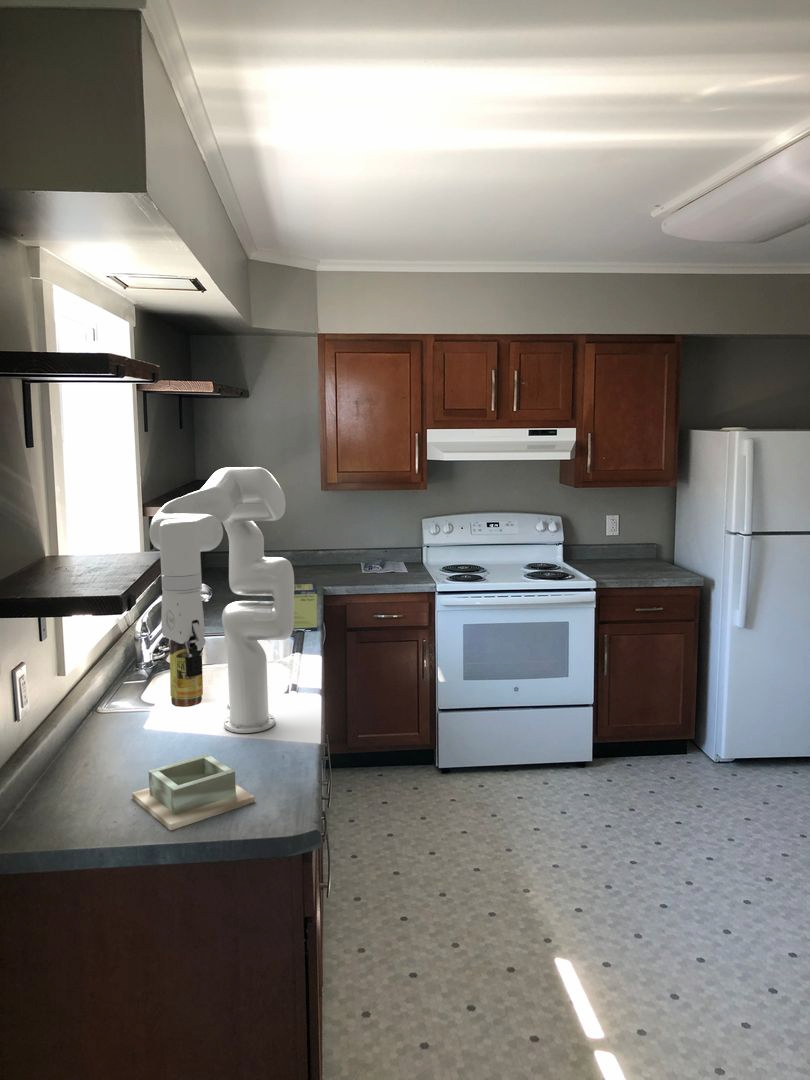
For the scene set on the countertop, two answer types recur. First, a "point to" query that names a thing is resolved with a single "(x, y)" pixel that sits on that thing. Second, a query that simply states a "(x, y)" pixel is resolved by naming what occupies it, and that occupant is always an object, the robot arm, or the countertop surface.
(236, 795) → the tray
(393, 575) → the countertop surface
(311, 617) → the protein box
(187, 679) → the sauce bottle
